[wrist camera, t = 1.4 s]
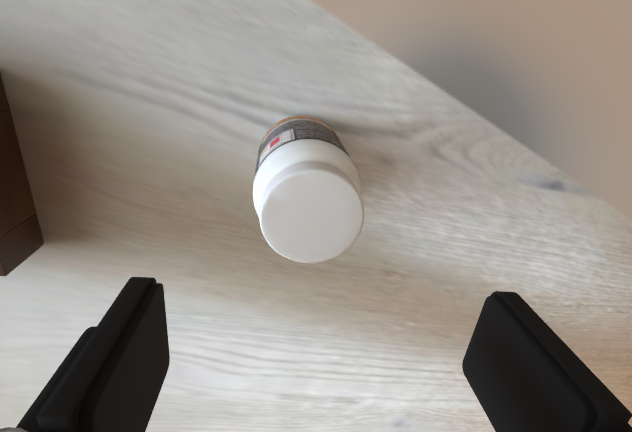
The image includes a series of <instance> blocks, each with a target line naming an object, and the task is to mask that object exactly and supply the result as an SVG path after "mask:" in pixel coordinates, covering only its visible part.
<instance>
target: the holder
mask: <svg viewBox="0 0 632 432" xmlns="http://www.w3.org/2000/svg"><path fill="white" fill-rule="evenodd" d="M43 244H44V243H43V239H42V235H41V231H40V227H39V223H38V219H37V215H36V211H35V207H34V203H33V199H32V195H31V192H30V188H29V184H28V180H27V176H26V172H25V168H24V164H23V160H22V156H21V152H20V149H19V145H18V141H17V137H16V133H15V129H14V125H13V121H12V117H11V113H10V110H9V106H8V102H7V99H6V95H5V91H4V87H3V83H2V79H1V75H0V276H6V275H8V274H9V273H10V272H11V271H12V270H14V269H15V268H16V267H17V266H18V265H20V264H21V263H22V262H23V261H24V260H26V259H27V258H28V257H29V256H30V255H32V254H33V253H34V252H35V251H36V250H38V249H39V248H40V247H41V246H42V245H43Z"/></svg>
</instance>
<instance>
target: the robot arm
mask: <svg viewBox="0 0 632 432" xmlns="http://www.w3.org/2000/svg"><path fill="white" fill-rule="evenodd" d="M168 366H169V346H168V335H167V323H166V312H165V301H164V290H163V285H162V284H161V283H156V280H155V278H147V277H131V278H130V279H129V280H128V282H127V283H126V285H125V286H124V288H123V289H122V291H121V292H120V294H119V295H118V297H117V298H116V300H115V301H114V302H113V304H112V305H111V307H110V308H109V310H108V311H107V313H106V314H105V316H104V317H103V319H102V320H101V322H100V323H99V325H98V326H97V327H90V328H88V329H87V330H86V331H85V332H84V333H83V334H82V336H81V337H80V338H79V340H78V341H77V343H76V344H75V345H74V347H73V348H72V350H71V351H70V352H69V354H68V355H67V357H66V358H65V359H64V361H63V362H62V364H61V365H60V366H59V368H58V369H57V371H56V372H55V373H54V375H53V376H52V378H51V379H50V380H49V382H48V383H47V385H46V386H45V387H44V389H43V390H42V392H41V393H40V394H39V396H38V397H37V399H36V400H35V401H34V403H33V404H32V406H31V407H30V408H29V410H28V411H27V413H26V414H25V416H24V417H23V418H22V420H21V421H20V423H19V424H18V425H17V427H16V428H10V427H8V428H3V429H0V432H145V431H146V428H147V425H148V422H149V420H150V417H151V414H152V411H153V409H154V406H155V403H156V401H157V398H158V395H159V392H160V390H161V387H162V384H163V382H164V379H165V376H166V373H167V370H168ZM462 367H463V372H464V375H465V377H466V378H467V380H468V382H469V384H470V386H471V387H472V389H473V391H474V393H475V395H476V397H477V398H478V400H479V402H480V404H481V406H482V407H483V409H484V411H485V413H486V415H487V417H488V418H489V420H490V422H491V424H492V426H493V427H494V429H495V431H496V432H632V427H631V426H630V425H629V424H628V421H629V420H630V418H631V417H632V414H631V412H630V411H629V410H628V409H627V408H626V407H625V406H624V405H623V404H622V403H621V402H620V401H619V400H618V399H617V398H616V397H615V396H614V395H613V394H612V393H611V391H610V390H609V389H608V388H607V387H606V386H605V385H604V384H603V383H602V382H601V381H600V380H599V379H598V378H597V377H596V376H595V375H594V374H593V373H592V371H591V370H590V369H589V368H588V367H587V366H586V365H585V364H584V363H583V362H582V361H581V360H580V359H579V358H578V357H577V356H576V355H575V354H574V353H573V352H572V350H571V349H570V348H569V347H568V346H567V345H566V344H565V343H564V342H563V341H562V340H561V339H560V338H559V337H558V336H557V335H556V334H555V333H554V332H553V331H552V329H551V328H550V327H549V326H548V325H547V324H546V323H545V322H544V321H543V320H542V319H541V318H540V317H539V316H538V315H537V314H536V313H535V312H534V311H533V310H532V308H531V307H530V306H529V305H528V304H527V303H526V302H525V301H524V300H523V299H522V298H521V297H520V296H519V295H518V294H517V293H515V292H499V291H496V292H493V293H492V294H491V296H488V297H487V298H486V300H485V303H484V306H483V308H482V311H481V314H480V316H479V319H478V322H477V324H476V327H475V330H474V333H473V335H472V338H471V341H470V343H469V346H468V349H467V351H466V354H465V357H464V360H463V364H462Z"/></svg>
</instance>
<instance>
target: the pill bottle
mask: <svg viewBox="0 0 632 432" xmlns="http://www.w3.org/2000/svg"><path fill="white" fill-rule="evenodd" d="M253 201H254V206H255V209H256V212H257V214H258V216H259V218H260V226H261V230H262V233H263V235H264V237H265V239H266V241H267V242H268V244H269V245H270V246H271V247H272V248H273V249H274V250H275V251H276V252H277V253H279V254H280V255H282V256H284V257H285V258H287V259H290V260H293V261H296V262H302V263H319V262H324V261H327V260H330V259H333V258H335V257H337V256H339V255H340V254H342V253H343V252H345V251H346V250H347V249H348V248H349V247H350V246H351V245H352V244H353V243H354V242H355V240H356V239H357V237H358V235H359V233H360V231H361V229H362V226H363V221H364V208H363V203H362V200H361V180H360V176H359V173H358V170H357V168H356V166H355V164H354V163H353V161H352V159H351V158H350V156H349V154H348V153H347V151H346V150H345V148H344V147H343V145H342V143H341V141H340V140H339V138H338V137H337V135H336V134H335V133H334V131H333V130H332V129H331V128H330V127H329V126H328V125H327V124H325V123H324V122H322V121H320V120H318V119H316V118H313V117H309V116H292V117H288V118H285V119H283V120H281V121H279V122H278V123H276V124H275V125H274V126H272V127H271V128H270V129H269V131H268V132H267V133H266V135H265V136H264V138H263V140H262V142H261V145H260V148H259V153H258V159H257V165H256V171H255V177H254V183H253Z"/></svg>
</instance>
